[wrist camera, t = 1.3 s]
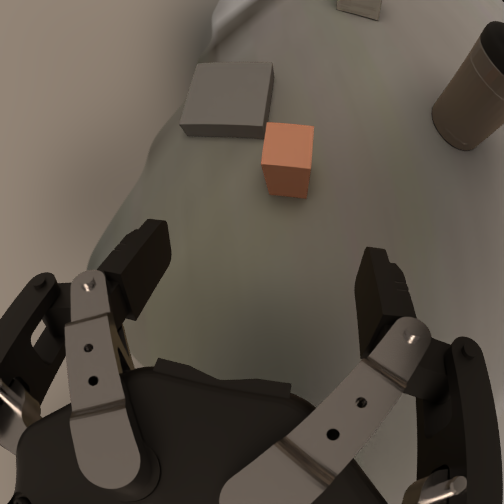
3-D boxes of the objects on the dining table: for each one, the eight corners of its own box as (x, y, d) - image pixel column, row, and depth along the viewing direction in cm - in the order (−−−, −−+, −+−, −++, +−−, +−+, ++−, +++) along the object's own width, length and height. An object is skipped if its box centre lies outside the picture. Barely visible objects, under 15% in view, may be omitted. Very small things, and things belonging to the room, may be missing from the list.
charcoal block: (204, 78, 40) (197, 63, 36) (274, 79, 39) (272, 62, 35) (188, 137, 39) (179, 124, 35) (265, 140, 38) (262, 126, 34)
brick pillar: (273, 161, 37) (266, 122, 27) (309, 164, 36) (313, 126, 26) (269, 194, 37) (260, 163, 27) (306, 198, 36) (310, 168, 26)
